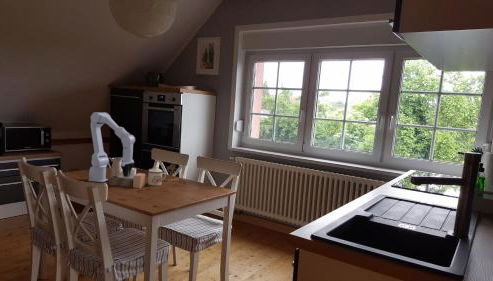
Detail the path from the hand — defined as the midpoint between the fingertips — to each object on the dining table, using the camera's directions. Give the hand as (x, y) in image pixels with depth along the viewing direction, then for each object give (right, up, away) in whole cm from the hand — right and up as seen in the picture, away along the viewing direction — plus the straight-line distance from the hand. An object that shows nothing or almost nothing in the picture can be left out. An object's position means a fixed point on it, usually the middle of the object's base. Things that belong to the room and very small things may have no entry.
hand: (126, 175), depth 218 cm
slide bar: (+2, -4, 0) cm, 4 cm away
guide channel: (-3, -6, +1) cm, 6 cm away
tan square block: (+8, -7, 0) cm, 10 cm away
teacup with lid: (+16, -7, +10) cm, 20 cm away
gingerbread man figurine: (+23, -6, +24) cm, 34 cm away
